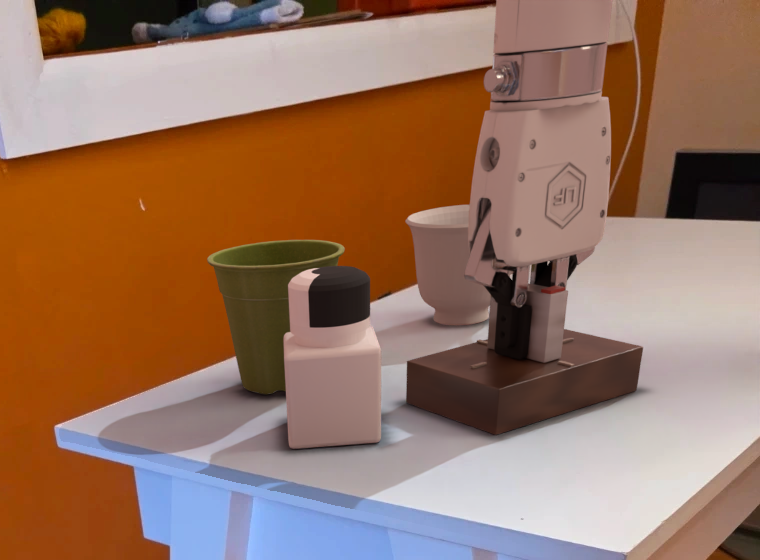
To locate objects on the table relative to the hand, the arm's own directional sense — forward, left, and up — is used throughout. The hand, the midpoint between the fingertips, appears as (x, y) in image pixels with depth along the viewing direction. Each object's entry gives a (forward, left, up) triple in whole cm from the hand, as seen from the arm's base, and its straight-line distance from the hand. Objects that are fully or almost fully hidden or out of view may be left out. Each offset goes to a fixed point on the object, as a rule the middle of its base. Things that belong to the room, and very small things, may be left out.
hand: (523, 350), depth 77 cm
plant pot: (+12, -18, -4) cm, 22 cm away
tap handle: (0, 0, 0) cm, 0 cm away
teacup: (-14, -22, -4) cm, 26 cm away
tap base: (0, 0, -4) cm, 4 cm away
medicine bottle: (+16, -4, -4) cm, 17 cm away
